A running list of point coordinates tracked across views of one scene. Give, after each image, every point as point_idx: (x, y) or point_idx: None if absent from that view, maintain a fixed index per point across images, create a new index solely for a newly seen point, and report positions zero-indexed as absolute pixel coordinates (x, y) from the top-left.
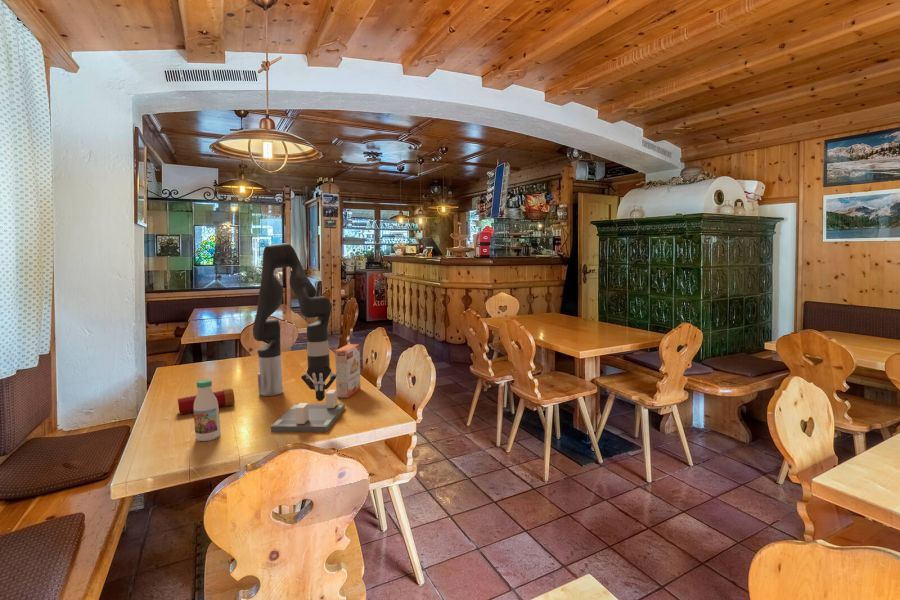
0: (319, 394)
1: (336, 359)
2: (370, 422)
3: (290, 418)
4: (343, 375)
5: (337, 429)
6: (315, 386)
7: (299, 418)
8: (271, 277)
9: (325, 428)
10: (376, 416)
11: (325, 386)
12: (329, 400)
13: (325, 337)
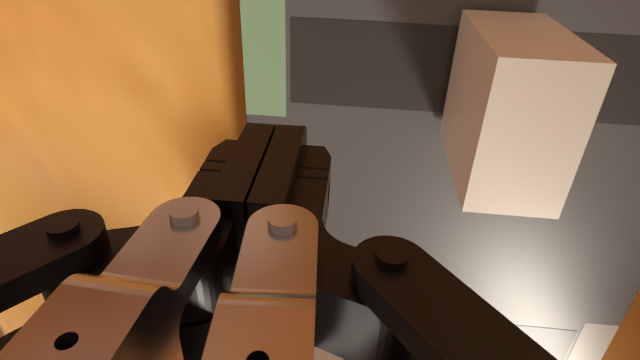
0: (253, 169)
1: None
2: (8, 128)
3: (604, 160)
4: None
5: (183, 7)
6: (294, 271)
7: (520, 24)
8: None
9: None
10: (25, 218)
11: (59, 249)
12: (321, 349)
13: None
